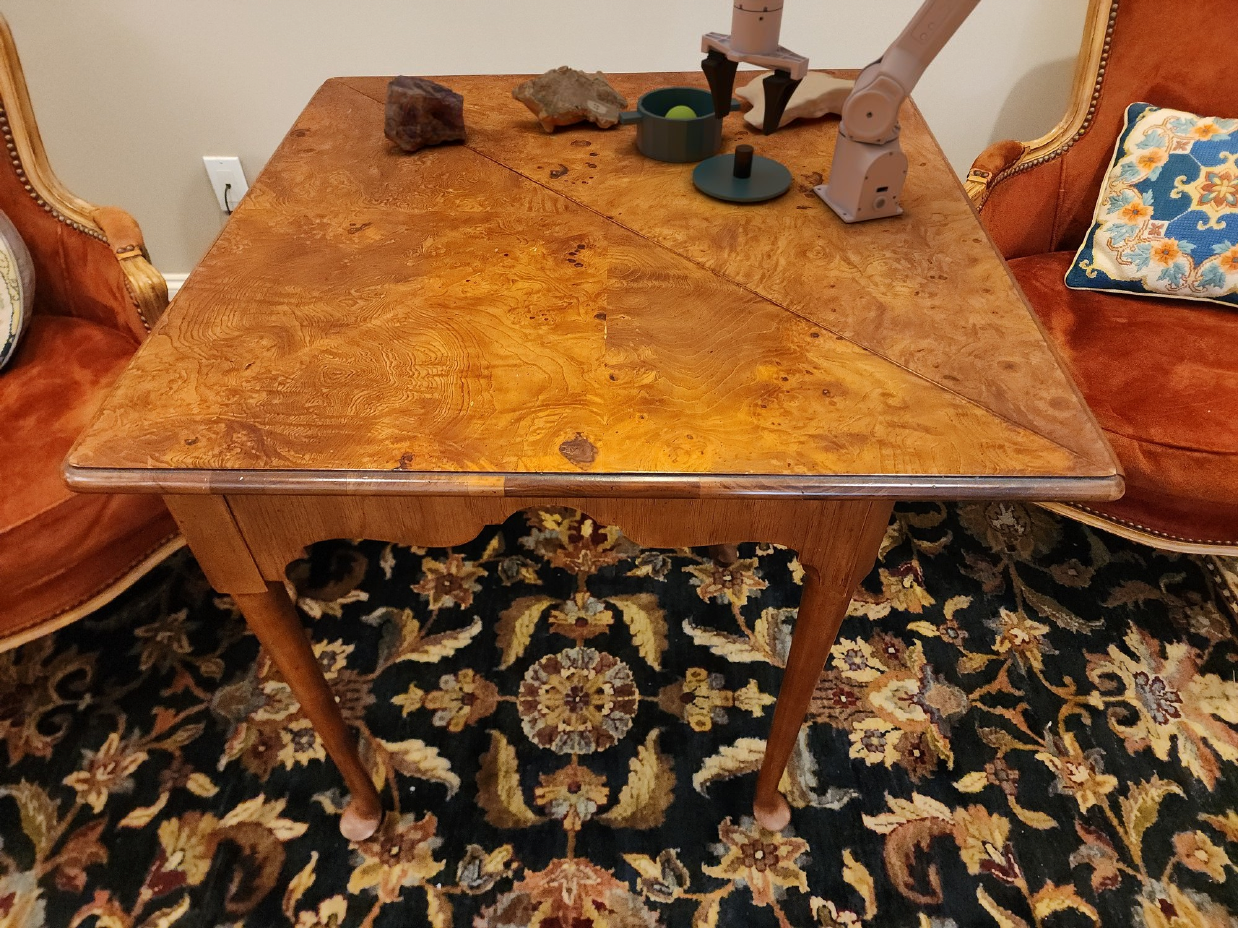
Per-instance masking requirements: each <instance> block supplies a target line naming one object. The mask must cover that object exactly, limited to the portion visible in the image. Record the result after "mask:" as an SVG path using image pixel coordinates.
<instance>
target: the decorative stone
mask: <svg viewBox="0 0 1238 928" xmlns="http://www.w3.org/2000/svg"><path fill="white" fill-rule="evenodd" d="M770 75H774V71H773V72H765V73H762V74H759V75H758V76H756V77H755V78H753V79H752V80H750V81H749V82H748V83H747V84H746V85H745V86H739V87H736V88H735V91H734V93H735V95H736V96H737V97H738V98H740V99H742V100H745V101H746V102H748V103H750V105H752V106H753V108H751V109H750V110H749V111H748V112H746V113H745V114H744V115H743V120H744V121H746V123H748V124H750V125H752V126H753V127H755V128H756V129H758V130H760V131H763V120H764V111H765V98H764V88H763V83H762V81H763V79H764V78H766V77H768V76H770ZM855 81H856V79H855V80H854V79H843V78H835V77H833V76H832V75H831V74H829V73H826V72H821V71H807V76H805V77H803V80H802V81H801V83H800V84H799V86H798V87H797V89H796V90H795V92H794V93H793V95H792V97H791V98H790V100H789V102H788V104H787V106H786V108H785V110H784V113H783V115H782V117H781V120H780V123H779V126H778V129H779V128H782V127H785V126H786V125H787V124H789V123H791V122H792V121H794V120H795V119H797V118H803V119H818V118H821V117H823V116H824V115H825V114H828V113H833V114H836V115H838V116H841V117H842V110H843V106H844V103H845V101H846V100H847V98H848V97H849V95H850V94H851V92H852V90H853V88H854V84H855Z"/></svg>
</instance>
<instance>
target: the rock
mask: <svg viewBox="0 0 1238 928" xmlns="http://www.w3.org/2000/svg"><path fill="white" fill-rule="evenodd" d="M464 98H465V97H464V95H463V94H460V93H457V92H454V91H453V89H452V88H448V87H446V86H444V85H442V84H440V83H436V82H435V81H433V80H430V79H424V78H421V77H417V76H407V75H402V74H399V75H398V76H397V77H394V78H393V79H392V80H390V81H388V83H387V89H386V98H385V102H384V103H385V105H384V108H385V109H384V118H385V119H384V128H383V134H384V138H385V139H387V140H388V141H390V142H392V143H394V144H395V145H396V146H398V147H400V148H402V150H403V151H410V152H415V151H417V150H418V149H419V148H420V149H421V148H422V147H424V146H425V145H427V146H428V145H430V146H435V145H439V144H441V143H442V142H444V141H447V142H454V141H461V140H465V139H466V138H467V130H466V124H465V119H464V115H463V113H464Z"/></svg>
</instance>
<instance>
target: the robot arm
mask: <svg viewBox="0 0 1238 928" xmlns="http://www.w3.org/2000/svg"><path fill="white" fill-rule="evenodd" d="M981 1H982V0H924V2H923V3H922V4H921V6H920V7H919V8H918V10H917V11H916V12H915V14H914V15H913V16H912V17H911V19H910V20H909V22H908V23H907V24H906V26H905V27H904V28H903V29H902V31H901V32H900V34H899V35H898V36H897V37H896V38H895V39H894V40H893V41H892V43H890V45H889V46H888V47H887V48H886V50H884V52H883V54H882V55H880V56H879V57H878V58H877V59H876V60H873V61H872V62H870V63H868V64H867V65H865V66H864V67H863V68H862V69H861V70H860V71H859V73H858V74H857V76H856V78H855V84H854V88H853V90H852V92H851V94H850V95H849V97H848V98H847V100H846V101H845V103H844V106H843V110H842V116H841V120H840V121H839V125H838V130H837V136H836V140H835V146H834V150H833V156H832V161H831V166H830V172H829V176H828V181H827V184H820V185H815V186H813V188H812V189H813V190H812V191H813V192H814V193H815V194H816V195H817V196H819V198H820V199H821V200H822V201H823V202H825V204H826V205H827V206H829V207H830V209H831V210H832V211H833V212H835V213H836V215H837V216H838V217H839V218H841V219H842V220H843V222H845V223H849V224H851V223H856V222H862V221H867V220H873V219H874V220H875V219H879V218H880V219H881V218H885V217H891V216H899V215H901V214H903V212H904V210H903V208H901V207H900V205H899V204H900V201H901V197H902V194H903V191H904V185H905V183H906V179H907V174H908V171H909V160H908V157H907V155H906V154H905V153H904V151H903V149H902V147H901V143H900V134H901V130H902V129H901V128H902V127H901V124H899V116H900V112H901V108H902V106H903V104H904V103H905V101H906V100H907V99H908V98H909V96H910V95H911V94H912V92H913V90H914V89H915V87H916V86H917V84H918V83H919V81H920V80H921V78H922V76H923V75H924V73H925V71H926V70H927V69H928V67H929V66H930V65H931V63H932V62H933V61H934V60H935V58H936V57H937V56H938V55H939V53H940V52H941V51H942V50H943V48H944V47H945V46H946V45H947V43H948V42H949V41H950V40H951V39H952V37H953V36H954V35H955V33H956V32H957V31H958V30H959V29H960V27H961V26H963V24H964V22H965V21H966V20H967V19H968V17H969V16H970V15H971V14H972V13H973V11H974V10H975V8H976V7H977V6H978V5H979V3H981ZM784 3H785V0H733V5H732V17H731V27H730V29H731V30H730V34H726V33H720V32H715V31H710V32H708V33H705V34H702V35H701V45H700V52H701V53H703V54H707V55H706V58H703V59H701V62H700V68H701V71H702V72H703V74H704V76H705V78H706V81H707V84H708V87H709V91H710V92H711V95H712V99H713V105H714V111H715V117H716V119H721V118H723V119H724V118H726V117H728V116H729V115H730V113H731V112H730V108H731V101H732V98H733V91H734V84H735V78H736V75H737V72H738V67H739V64H740V63H745V64H749V65H752V66H755V67H759V68H762V69H765V70H770V71H773V72H774V75H770V76H768V77H766V78H764V79H763V81H762V83H763V88H764V98H765V111H764V120H763V130H762V135H763V136H765V137H769V136H771V135H773V134H775V133H777V132H778V129H779V128H778V126H779V123H780V120H781V117H782V115H783V113H784V110H785V108H786V106H787V104H788V102H789V100H790V98H791V97H792V95H793V93H794V92H795V90H796V89H797V87H798V86H799V84H800V83H801V81H802V80H803V77H805V76H807V71H808V70H809V64H810V57H806V56H803V55H800V54H798V53H796V52H794V51H792V50H790V49H788V48H786V47H785V46H782V45H781V44H779V42H780V36H781V35H780V34H781V26H782V21H783V19H782V18H783V11H784ZM808 72H809V71H808Z"/></svg>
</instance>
